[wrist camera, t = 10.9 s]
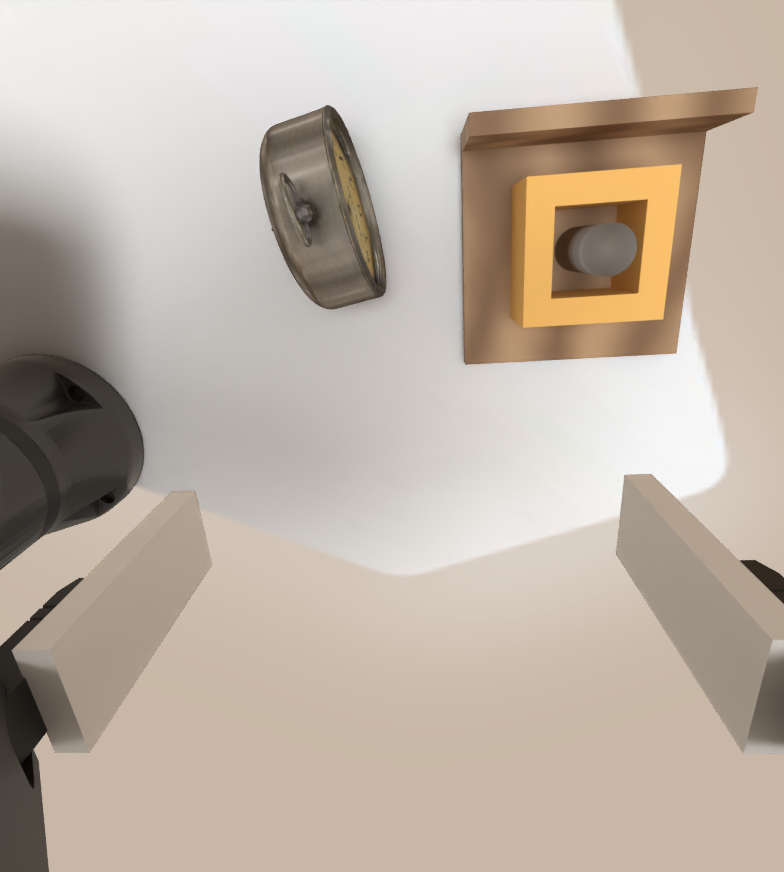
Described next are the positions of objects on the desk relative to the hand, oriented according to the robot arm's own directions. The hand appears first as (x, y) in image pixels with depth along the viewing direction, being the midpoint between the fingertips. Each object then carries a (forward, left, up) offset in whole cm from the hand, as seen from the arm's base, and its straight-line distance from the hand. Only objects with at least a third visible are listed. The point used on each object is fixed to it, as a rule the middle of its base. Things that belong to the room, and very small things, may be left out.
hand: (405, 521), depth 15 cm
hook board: (+12, +7, -27) cm, 30 cm away
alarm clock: (-5, +10, -27) cm, 29 cm away
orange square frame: (+12, +7, -26) cm, 29 cm away
